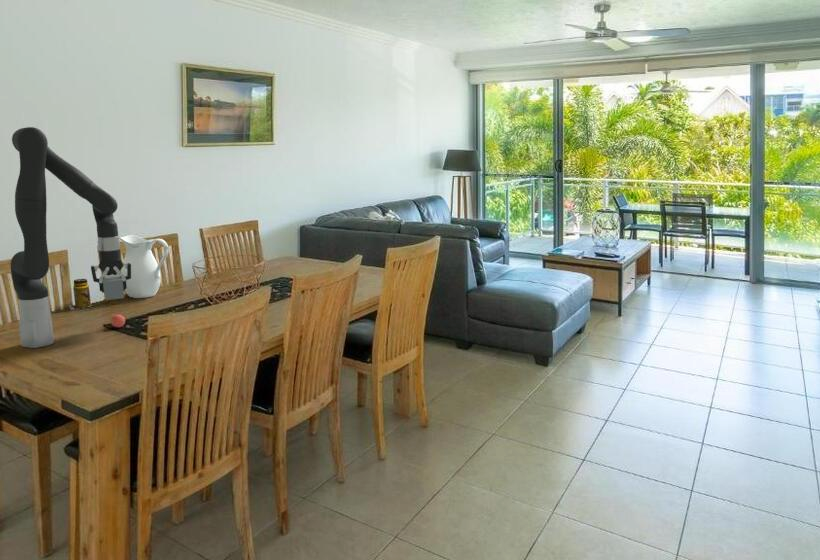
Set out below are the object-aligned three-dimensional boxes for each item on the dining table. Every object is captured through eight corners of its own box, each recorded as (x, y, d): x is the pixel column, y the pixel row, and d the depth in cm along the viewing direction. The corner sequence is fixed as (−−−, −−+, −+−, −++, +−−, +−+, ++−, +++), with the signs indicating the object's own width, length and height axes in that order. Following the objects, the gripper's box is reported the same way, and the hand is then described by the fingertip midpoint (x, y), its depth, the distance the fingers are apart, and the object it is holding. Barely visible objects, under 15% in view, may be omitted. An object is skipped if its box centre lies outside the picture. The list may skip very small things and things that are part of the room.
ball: (118, 317, 245) (120, 329, 244) (107, 316, 241) (108, 328, 240) (127, 313, 243) (128, 325, 242) (115, 312, 239) (117, 324, 238)
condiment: (92, 307, 270) (90, 280, 267) (70, 310, 265) (67, 282, 263) (90, 303, 276) (87, 277, 273) (69, 306, 271) (65, 279, 269)
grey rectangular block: (124, 298, 234) (122, 280, 233) (104, 300, 231) (102, 281, 230) (122, 291, 244) (120, 274, 242) (104, 293, 241) (102, 275, 239)
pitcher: (114, 298, 285) (108, 238, 279) (140, 290, 301) (135, 233, 295) (158, 302, 279) (153, 241, 272) (182, 294, 294) (178, 235, 288)
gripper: (87, 251, 227) (92, 295, 231) (130, 248, 233) (134, 291, 237) (87, 248, 234) (92, 291, 237) (129, 245, 240) (133, 287, 244)
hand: (113, 291), depth 237 cm, fingers closed on grey rectangular block, 6 cm apart
